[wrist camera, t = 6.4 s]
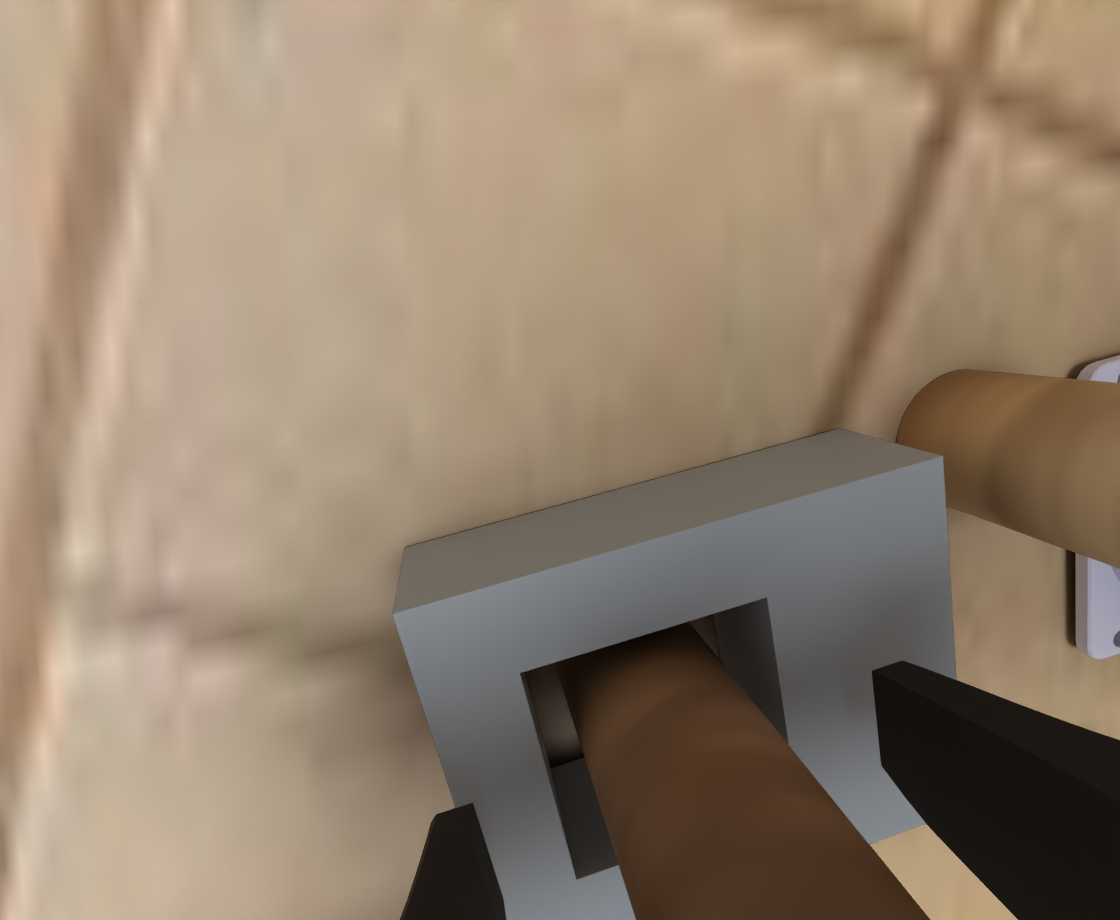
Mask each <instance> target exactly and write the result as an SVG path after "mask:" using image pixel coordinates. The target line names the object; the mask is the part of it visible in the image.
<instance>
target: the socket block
mask: <svg viewBox="0 0 1120 920" xmlns="http://www.w3.org/2000/svg"><path fill="white" fill-rule="evenodd" d="M711 614H713V617H714V622H715V628H716V634H717V640H718V645H719V651H720V657H721V662H722V663H723V665H724V666H725V667H726V668H727V669H728V671H729V672H730V673H731V674H732V676H733V677H734V678H735V679H736V681H737V682H738V683H739V684H740V686H741V687H742V688H743V689H744V690H745V692H746V693H747V694H748V695H749V697H750V698H751V699H752V700H753V702H754V703H755V704H756V705H757V707H758V708H759V709H760V710H761V711H762V713H763V714H764V715H765V716H766V718H767V719H768V720H769V721H770V723H771V724H772V725H773V726H774V728H775V729H776V730H777V731H778V732H779V734H780V735H781V736H782V737H783V739H784V740H785V741H786V742H787V744H788V745H789V746H790V747H791V749H792V750H793V751H794V752H795V753H796V755H797V756H798V757H799V758H800V760H801V761H802V762H803V763H804V765H805V766H806V767H807V768H808V769H809V771H810V772H811V773H812V774H813V776H814V777H815V778H816V779H817V781H818V782H819V783H820V784H821V786H822V787H823V788H824V789H825V790H826V792H827V793H828V794H829V795H830V797H831V798H832V799H833V800H834V802H835V803H836V804H837V805H838V807H839V808H840V809H841V810H842V811H843V813H844V814H845V815H846V816H847V818H848V819H849V820H850V821H851V823H852V824H853V825H854V826H855V828H856V829H857V830H858V831H859V832H860V834H861V835H862V836H863V837H864V839H865V840H866V841H867V842H868V844H872V843H875V842H877V841H880V840H883V839H886V838H888V837H891V836H894V835H896V834H899V833H902V832H905V831H907V830H910V829H913V828H915V827H918V826H921V825H924V824H926V823H925V822H924V820H923V819H922V818H921V817H920V815H919V814H918V813H917V812H916V810H915V809H914V808H913V807H912V805H911V804H910V803H909V802H908V800H907V799H906V798H905V797H904V795H903V794H902V793H901V791H900V790H899V789H898V787H897V786H896V785H895V783H894V782H893V781H892V779H891V778H890V777H889V775H888V774H887V773H886V771H885V770H884V769H883V767H882V766H881V759H880V749H879V740H878V730H877V720H876V710H875V700H874V691H873V681H872V670H875V669H878V668H881V667H884V666H887V665H890V664H893V663H896V662H899V661H902V660H903V661H906V662H909V663H912V664H914V665H917V666H920V667H923V668H926V669H928V670H931V671H934V672H936V673H939V674H942V675H944V676H947V677H949V678H952V679H955V680H957V679H956V663H955V646H954V630H953V613H952V597H951V580H950V564H949V547H948V531H947V514H946V498H945V481H944V465H943V456H941V455H937V454H933V453H929V452H926V451H922V450H918V449H914V448H911V447H907V446H903V445H899V444H896V443H892V442H888V441H884V440H881V439H877V438H873V437H869V436H866V435H862V434H858V433H854V432H851V431H847V430H843V429H836V430H832V431H828V432H825V433H821V434H817V435H814V436H810V437H806V438H803V439H799V440H796V441H792V442H788V443H785V444H781V445H777V446H774V447H770V448H766V449H763V450H759V451H755V452H752V453H748V454H745V455H741V456H737V457H734V458H730V459H726V460H723V461H719V462H715V463H712V464H708V465H704V466H701V467H697V468H693V469H690V470H686V471H683V472H679V473H675V474H672V475H668V476H664V477H661V478H657V479H653V480H650V481H646V482H642V483H639V484H635V485H632V486H628V487H624V488H621V489H617V490H613V491H610V492H606V493H602V494H599V495H595V496H591V497H588V498H584V499H580V500H577V501H573V502H570V503H566V504H562V505H559V506H555V507H551V508H548V509H544V510H540V511H537V512H533V513H529V514H526V515H522V516H519V517H515V518H511V519H508V520H504V521H500V522H497V523H493V524H489V525H486V526H482V527H478V528H475V529H471V530H467V531H464V532H460V533H457V534H453V535H449V536H446V537H442V538H438V539H435V540H431V541H427V542H424V543H420V544H416V545H413V546H409V547H405V550H404V555H403V560H402V566H401V571H400V576H399V581H398V587H397V592H396V597H395V602H394V608H393V613H392V615H393V618H394V621H395V624H396V627H397V630H398V633H399V636H400V639H401V642H402V645H403V649H404V652H405V655H406V658H407V661H408V664H409V667H410V670H411V673H412V676H413V679H414V682H415V685H416V688H417V691H418V694H419V697H420V700H421V703H422V707H423V710H424V713H425V716H426V719H427V722H428V725H429V728H430V731H431V734H432V737H433V740H434V743H435V746H436V749H437V752H438V755H439V758H440V761H441V764H442V768H443V771H444V774H445V777H446V780H447V783H448V786H449V789H450V792H451V795H452V798H453V801H454V804H455V807H456V808H458V807H461V806H464V805H467V804H470V803H473V804H474V807H475V811H476V814H477V817H478V820H479V823H480V826H481V829H482V833H483V836H484V839H485V842H486V845H487V848H488V851H489V855H490V858H491V861H492V864H493V867H494V870H495V873H496V877H497V880H498V883H499V886H500V889H501V892H502V895H503V899H504V905H505V913H506V920H636V919H635V915H634V912H633V909H632V906H631V903H630V900H629V896H628V893H627V890H626V887H625V884H624V881H623V877H622V874H621V871H620V868H619V865H618V862H617V858H616V855H615V852H614V849H613V846H612V843H611V839H610V836H609V833H608V830H607V827H606V824H605V820H604V817H603V814H602V811H601V808H600V805H599V801H598V798H597V795H596V792H595V789H594V786H593V782H592V779H591V776H590V773H589V770H588V767H587V764H586V760H585V757H584V758H581V759H578V760H575V761H572V762H568V763H565V764H562V765H559V766H556V767H553V768H550V764H549V760H548V757H547V753H546V749H545V746H544V742H543V738H542V735H541V731H540V727H539V724H538V720H537V716H536V713H535V709H534V705H533V702H532V698H531V694H530V691H529V687H528V683H527V680H526V676H525V671H529V670H532V669H535V668H538V667H542V666H545V665H548V664H552V663H555V662H558V661H561V660H565V659H568V658H571V657H574V656H578V655H581V654H584V653H587V652H591V651H594V650H597V649H600V648H604V647H607V646H610V645H613V644H617V643H620V642H623V641H626V640H630V639H633V638H636V637H639V636H643V635H646V634H649V633H652V632H656V631H659V630H662V629H666V628H669V627H672V626H675V625H679V624H682V623H685V622H688V621H692V620H695V619H698V618H701V617H705V616H708V615H711Z"/></svg>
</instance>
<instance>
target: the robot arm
mask: <svg viewBox="0 0 1120 920" xmlns="http://www.w3.org/2000/svg"><path fill="white" fill-rule="evenodd" d="M1077 379H1080V380H1091V381H1102V382H1114V383H1120V355H1118V356H1115V357H1111V358H1107V359H1104V360H1100V361H1096V362H1093V363H1091V364H1089V365H1087V366H1086V367H1085V368H1084V369H1083V370H1082V371H1081V372H1080V374H1079V376H1078V378H1077ZM1076 645H1077V649H1078V650H1079V651H1080V652H1081V653H1083V654H1085V655H1087V656H1089V657H1091V658H1093V659H1096V660H1100V659H1105V658H1108V657H1111V656H1114V655H1116V654H1119V653H1120V569H1119V568H1116V567H1113V566H1110V565H1108V564H1105V563H1102V562H1099V561H1097V560H1094V559H1091V558H1089V557H1086V556H1083V555H1080V554H1078V553H1076ZM872 681H873V691H874V700H875V710H876V720H877V730H878V740H879V749H880V759H881V766H882V767H883V769H884V770H885V771H886V773H887V774H888V775H889V777H890V778H891V779H892V781H893V782H894V783H895V785H896V786H897V787H898V789H899V790H900V791H901V793H902V794H903V795H904V797H905V798H906V799H907V800H908V802H909V803H910V804H911V805H912V807H913V808H914V809H915V810H916V812H917V813H918V814H919V815H920V817H921V818H922V819H923V820H924V822H925V823H926V824H927V825H928V826H929V827H930V828H931V829H932V830H933V831H934V832H935V834H936V835H937V836H938V837H939V838H940V839H941V840H942V841H943V842H944V843H945V844H946V845H947V846H948V847H949V848H950V849H951V850H952V851H953V852H954V854H955V855H956V856H957V857H958V858H959V859H960V860H961V861H962V862H963V863H964V864H965V865H966V866H967V867H968V868H969V869H970V870H971V871H972V872H973V873H974V874H975V875H976V876H977V878H978V879H979V880H980V881H981V882H982V883H983V884H984V885H985V886H986V887H987V888H988V889H989V890H990V891H991V892H992V893H993V894H994V895H995V896H996V897H997V898H998V899H999V900H1000V901H1001V902H1002V903H1003V904H1004V905H1005V907H1006V908H1007V909H1008V910H1009V911H1010V912H1011V913H1012V914H1013V915H1014V916H1015V917H1016V918H1017V919H1018V920H1120V740H1117V739H1114V738H1111V737H1108V736H1105V735H1102V734H1099V733H1096V732H1093V731H1090V730H1088V729H1085V728H1082V727H1079V726H1076V725H1074V724H1071V723H1068V722H1065V721H1062V720H1060V719H1057V718H1054V717H1051V716H1049V715H1046V714H1043V713H1041V712H1038V711H1035V710H1033V709H1030V708H1027V707H1025V706H1022V705H1019V704H1017V703H1014V702H1011V701H1009V700H1006V699H1004V698H1001V697H998V696H996V695H993V694H991V693H988V692H985V691H983V690H980V689H978V688H975V687H973V686H970V685H967V684H965V683H962V682H960V681H957V680H955V679H952V678H949V677H947V676H944V675H942V674H939V673H936V672H934V671H931V670H928V669H926V668H923V667H920V666H917V665H914V664H912V663H909V662H906V661H903V660H902V661H899V662H896V663H893V664H890V665H887V666H884V667H881V668H878V669H875V670H872ZM400 920H506V913H505V905H504V899H503V895H502V892H501V889H500V886H499V883H498V880H497V877H496V873H495V870H494V867H493V864H492V861H491V858H490V855H489V851H488V848H487V845H486V842H485V839H484V836H483V833H482V829H481V826H480V823H479V820H478V817H477V814H476V811H475V807H474V804H473V803H470V804H467V805H464V806H461V807H458V808H454V809H451V810H448V811H445V812H442V813H439V814H436V816H435V817H434V819H433V820H432V822H431V825H430V828H429V832H428V836H427V839H426V843H425V846H424V849H423V853H422V856H421V859H420V862H419V866H418V869H417V872H416V875H415V878H414V881H413V884H412V887H411V890H410V893H409V896H408V899H407V902H406V905H405V907H404V910H403V913H402V915H401V918H400Z"/></svg>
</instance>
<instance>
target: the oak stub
mask: <svg viewBox="0 0 1120 920" xmlns="http://www.w3.org/2000/svg"><path fill="white" fill-rule="evenodd" d="M896 444H899V445H903V446H907V447H911V448H914V449H918V450H922V451H926V452H929V453H933V454H937V455H941V456H943V465H944V481H945V498H946V506H949V507H952V508H954V509H957V510H960V511H963V512H965V513H968V514H971V515H974V516H976V517H979V518H982V519H984V520H987V521H990V522H993V523H995V524H998V525H1001V526H1004V527H1006V528H1009V529H1012V530H1015V531H1017V532H1020V533H1023V534H1026V535H1028V536H1031V537H1034V538H1036V539H1039V540H1042V541H1045V542H1047V543H1050V544H1053V545H1056V546H1058V547H1061V548H1064V549H1067V550H1069V551H1072V552H1075V553H1078V554H1080V555H1083V556H1086V557H1089V558H1091V559H1094V560H1097V561H1099V562H1102V563H1105V564H1108V565H1110V566H1113V567H1116V568H1119V569H1120V383H1114V382H1102V381H1091V380H1080V379H1069V378H1057V377H1046V376H1035V375H1024V374H1012V373H1001V372H990V371H978V370H958V371H953V372H950V373H947V374H944V375H942V376H940V377H938V378H936V379H935V380H933V381H932V382H930V383H929V384H928V385H926V386H925V387H924V388H923V389H922V390H921V391H920V392H919V393H918V394H917V395H916V396H915V398H914V399H913V400H912V402H911V403H910V405H909V406H908V408H907V410H906V411H905V414H904V416H903V418H902V420H901V423H900V426H899V430H898V435H897V442H896Z"/></svg>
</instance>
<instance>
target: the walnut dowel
mask: <svg viewBox="0 0 1120 920" xmlns="http://www.w3.org/2000/svg"><path fill="white" fill-rule="evenodd" d="M556 667H557V671H558V675H559V678H560V681H561V684H562V688H563V691H564V694H565V697H566V700H567V703H568V707H569V710H570V713H571V716H572V719H573V722H574V726H575V729H576V732H577V735H578V738H579V741H580V745H581V748H582V751H583V754H584V757H585V760H586V764H587V767H588V770H589V773H590V776H591V779H592V782H593V786H594V789H595V792H596V795H597V798H598V801H599V805H600V808H601V811H602V814H603V817H604V820H605V824H606V827H607V830H608V833H609V836H610V839H611V843H612V846H613V849H614V852H615V855H616V858H617V862H618V865H619V868H620V871H621V874H622V877H623V881H624V884H625V887H626V890H627V893H628V896H629V900H630V903H631V906H632V909H633V912H634V915H635V919H636V920H930V919H929V918H928V916H927V915H926V914H925V913H924V911H923V910H922V909H921V908H920V907H919V905H918V904H917V903H916V902H915V900H914V899H913V898H912V897H911V895H910V894H909V893H908V892H907V891H906V889H905V888H904V887H903V886H902V884H901V883H900V882H899V881H898V879H897V878H896V877H895V876H894V874H893V873H892V872H891V871H890V870H889V868H888V867H887V866H886V865H885V863H884V862H883V861H882V860H881V858H880V857H879V856H878V855H877V853H876V852H875V851H874V850H873V849H872V847H871V846H870V845H869V844H868V842H867V841H866V840H865V839H864V837H863V836H862V835H861V834H860V832H859V831H858V830H857V829H856V828H855V826H854V825H853V824H852V823H851V821H850V820H849V819H848V818H847V816H846V815H845V814H844V813H843V811H842V810H841V809H840V808H839V807H838V805H837V804H836V803H835V802H834V800H833V799H832V798H831V797H830V795H829V794H828V793H827V792H826V790H825V789H824V788H823V787H822V786H821V784H820V783H819V782H818V781H817V779H816V778H815V777H814V776H813V774H812V773H811V772H810V771H809V769H808V768H807V767H806V766H805V765H804V763H803V762H802V761H801V760H800V758H799V757H798V756H797V755H796V753H795V752H794V751H793V750H792V749H791V747H790V746H789V745H788V744H787V742H786V741H785V740H784V739H783V737H782V736H781V735H780V734H779V732H778V731H777V730H776V729H775V728H774V726H773V725H772V724H771V723H770V721H769V720H768V719H767V718H766V716H765V715H764V714H763V713H762V711H761V710H760V709H759V708H758V707H757V705H756V704H755V703H754V702H753V700H752V699H751V698H750V697H749V695H748V694H747V693H746V692H745V690H744V689H743V688H742V687H741V686H740V684H739V683H738V682H737V681H736V679H735V678H734V677H733V676H732V674H731V673H730V672H729V671H728V669H727V668H726V667H725V666H724V665H723V663H722V662H721V661H720V660H719V658H718V657H717V656H716V655H715V653H714V652H713V651H712V650H711V648H710V647H709V646H708V645H707V644H706V642H705V641H704V640H703V639H702V637H701V636H700V635H699V634H698V632H697V631H696V630H695V629H694V627H693V626H692V625H691V624H690V623H689V621H688V622H685V623H682V624H679V625H675V626H672V627H669V628H666V629H662V630H659V631H656V632H652V633H649V634H646V635H643V636H639V637H636V638H633V639H630V640H626V641H623V642H620V643H617V644H613V645H610V646H607V647H604V648H600V649H597V650H594V651H591V652H587V653H584V654H581V655H578V656H574V657H571V658H568V659H565V660H561V661H558V662H556Z"/></svg>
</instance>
